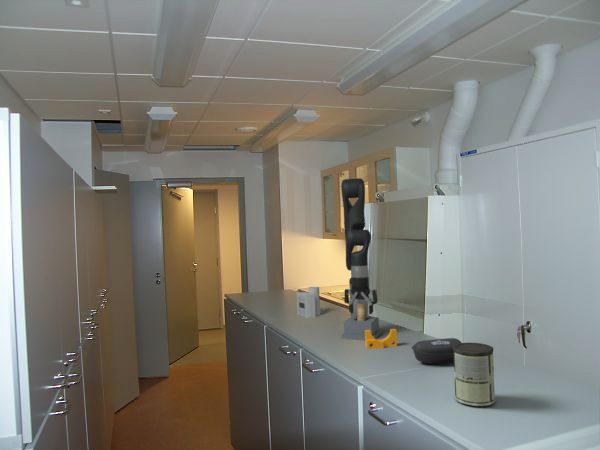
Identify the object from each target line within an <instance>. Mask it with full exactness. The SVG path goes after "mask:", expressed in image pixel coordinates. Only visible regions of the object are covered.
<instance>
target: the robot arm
mask: <svg viewBox="0 0 600 450" xmlns="http://www.w3.org/2000/svg"><path fill="white" fill-rule="evenodd" d="M340 187H341V188H340V189H341V190H340V191H341V196H342V197H341V198H342V205H343V206H342V207H343V226H344V239H345V267H346V270H348V271H350V278H349V279H348V280H349V281H348V283H349V284H348V285H349V288H346V289H344V299H343V300H344V303H345V304H348V311H349V314H350V315H349V316H350V317H352V316H357V304H360V303H363V304H366V317H369V315H372V314H373V313H374V305H376V304H377V303H378V291H377V289H375V288H374V289H370V277H369V276H370V274H369V266H368V265H369V264H368V263H369V260H368V255H369V254H368V253H369V248H370V244H371V241H372V240H371V239H372V234H371V232H370V230H368V229H365V227H366V217H365V204H366V184H365V181H364V179H363V178H360V177H359V178H346V179H343V180H342V181H341V185H340ZM350 199H357V200H356V202H355V203H354V204H353V205H352V203H351V201H350ZM355 247H362V248H361V249H359V250H356V251H353V250H354V248H355ZM370 294H371V295H372V298H371V297H370Z"/></svg>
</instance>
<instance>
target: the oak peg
mask: <svg viewBox="0 0 600 450" xmlns="http://www.w3.org/2000/svg"><path fill="white" fill-rule="evenodd" d="M357 321H367V318H366V304H363V303H360V304H357Z"/></svg>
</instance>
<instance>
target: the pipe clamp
mask: <svg viewBox="0 0 600 450" xmlns="http://www.w3.org/2000/svg"><path fill="white" fill-rule="evenodd" d="M397 333H398V332H397V329H396V328H390V330H389V333H388V335H387V336H386V337H385V338H382V339H378V338H376V339H375V338H374V337H373V336H372V334H371V331H370V330H365V340H364V341H365V342H364V343H365V347H366V349H367V350H369V349H372V350H373V349H384V348H386V347H387V348H388V347H391V348H392V347H398V334H397Z"/></svg>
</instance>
